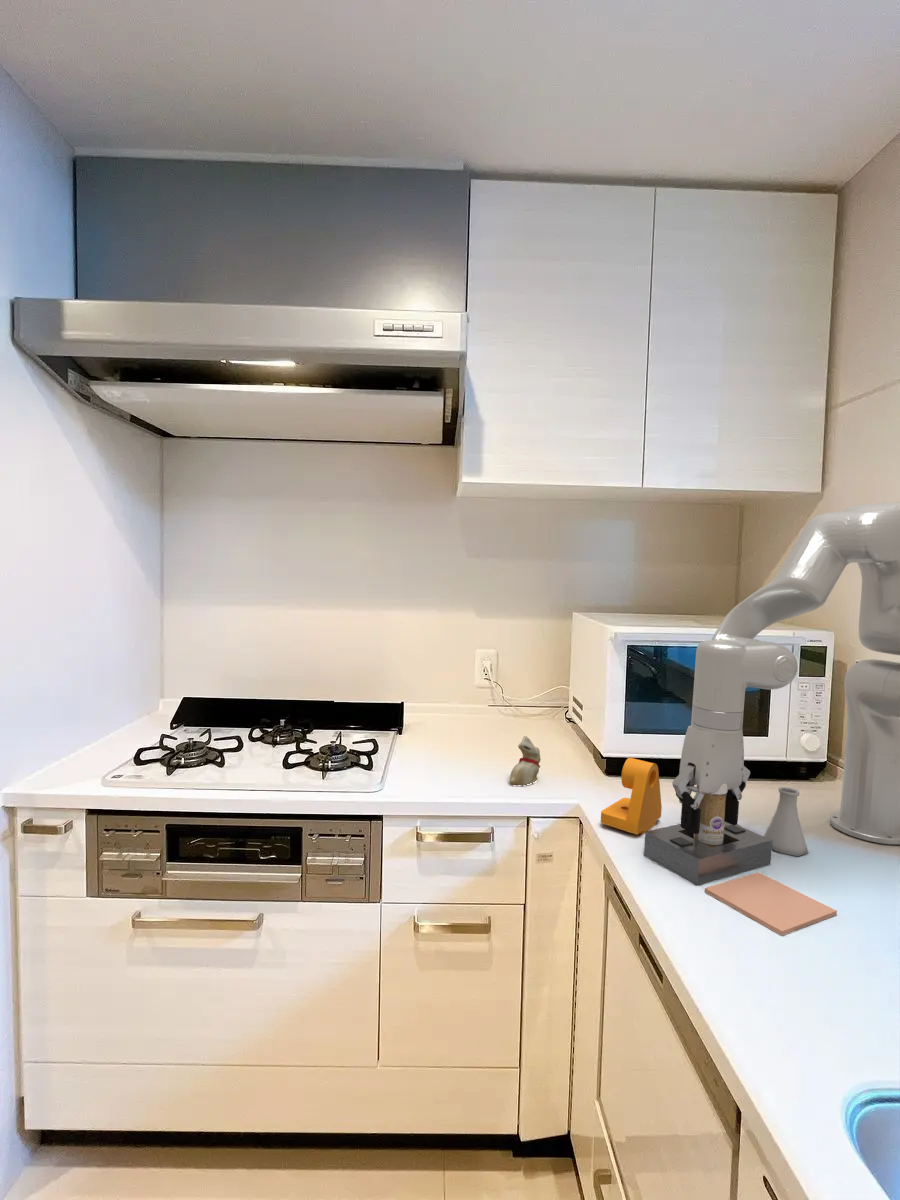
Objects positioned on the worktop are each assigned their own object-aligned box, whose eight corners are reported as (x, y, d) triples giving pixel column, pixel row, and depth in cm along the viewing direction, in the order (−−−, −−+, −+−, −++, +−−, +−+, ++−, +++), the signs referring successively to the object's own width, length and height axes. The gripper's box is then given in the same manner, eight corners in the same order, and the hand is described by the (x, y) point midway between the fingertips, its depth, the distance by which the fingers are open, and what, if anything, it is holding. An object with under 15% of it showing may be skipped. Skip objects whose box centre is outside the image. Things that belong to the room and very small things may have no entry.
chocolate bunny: (546, 785, 136) (549, 738, 135) (512, 787, 134) (514, 739, 133) (535, 776, 141) (538, 731, 141) (502, 778, 139) (504, 732, 138)
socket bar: (714, 838, 112) (716, 814, 112) (770, 864, 103) (772, 838, 103) (643, 855, 104) (645, 830, 104) (697, 885, 95) (699, 858, 95)
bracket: (623, 810, 123) (627, 749, 123) (660, 821, 119) (665, 757, 118) (598, 826, 115) (602, 760, 114) (637, 839, 111) (641, 770, 110)
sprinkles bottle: (707, 868, 101) (713, 784, 100) (685, 856, 105) (691, 774, 104) (728, 864, 102) (734, 781, 102) (706, 852, 107) (712, 772, 106)
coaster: (758, 875, 99) (758, 872, 99) (836, 915, 88) (836, 910, 88) (704, 892, 93) (704, 887, 93) (781, 935, 83) (782, 931, 83)
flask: (766, 834, 115) (770, 779, 115) (812, 847, 110) (817, 790, 110) (756, 847, 109) (760, 789, 109) (803, 861, 105) (808, 801, 104)
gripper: (732, 710, 110) (725, 810, 111) (659, 717, 101) (652, 825, 102) (773, 720, 103) (765, 826, 104) (698, 729, 95) (690, 844, 96)
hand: (709, 825), depth 103 cm, fingers open, 8 cm apart
